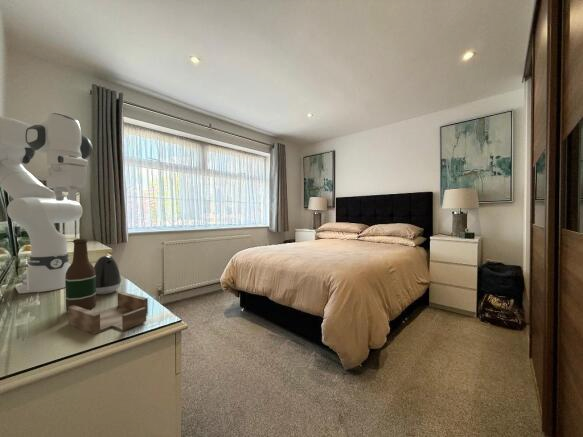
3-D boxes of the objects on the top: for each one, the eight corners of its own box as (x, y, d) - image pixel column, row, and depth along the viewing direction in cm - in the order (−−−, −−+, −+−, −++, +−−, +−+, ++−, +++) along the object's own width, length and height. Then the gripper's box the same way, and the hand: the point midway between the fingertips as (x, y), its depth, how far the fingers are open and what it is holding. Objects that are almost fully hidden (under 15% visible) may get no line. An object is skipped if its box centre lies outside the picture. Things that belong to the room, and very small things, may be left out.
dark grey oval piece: (96, 298, 91) (95, 259, 91) (85, 293, 97) (85, 256, 96) (126, 291, 100) (125, 255, 99) (114, 287, 105) (114, 252, 105)
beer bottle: (101, 304, 85) (101, 237, 85) (80, 314, 77) (79, 240, 77) (82, 303, 86) (81, 237, 85) (59, 312, 78) (57, 240, 78)
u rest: (68, 323, 71) (67, 306, 70) (122, 306, 84) (122, 291, 84) (106, 340, 62) (106, 320, 62) (160, 317, 75) (160, 301, 75)
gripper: (40, 162, 86) (40, 200, 86) (67, 156, 77) (67, 199, 77) (62, 165, 91) (63, 201, 92) (90, 160, 82) (90, 200, 83)
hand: (65, 200), depth 84 cm, fingers open, 7 cm apart
